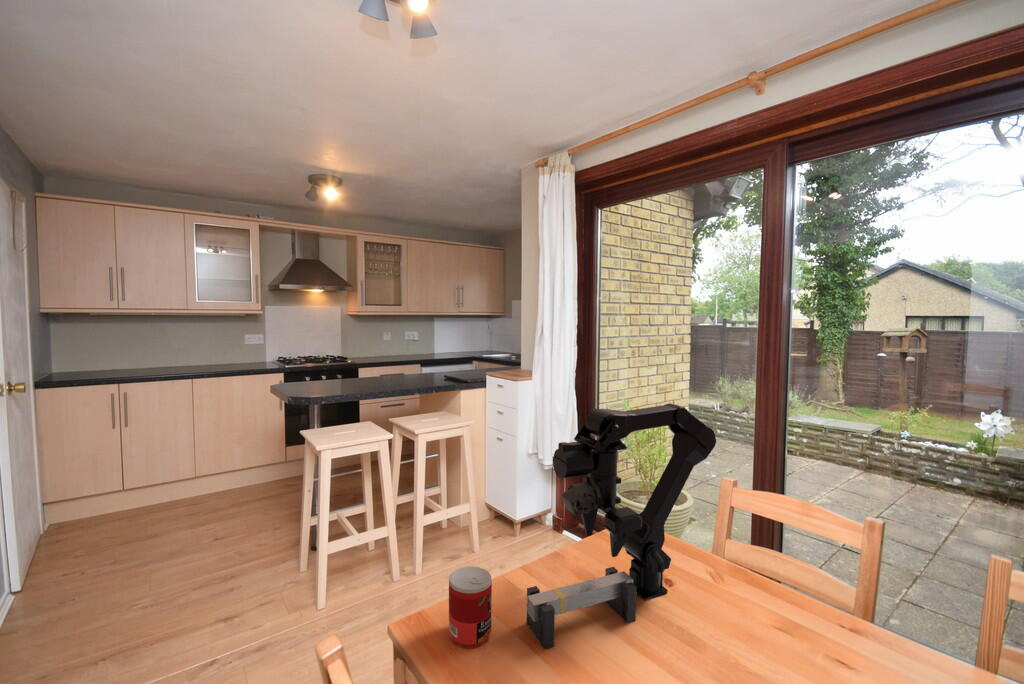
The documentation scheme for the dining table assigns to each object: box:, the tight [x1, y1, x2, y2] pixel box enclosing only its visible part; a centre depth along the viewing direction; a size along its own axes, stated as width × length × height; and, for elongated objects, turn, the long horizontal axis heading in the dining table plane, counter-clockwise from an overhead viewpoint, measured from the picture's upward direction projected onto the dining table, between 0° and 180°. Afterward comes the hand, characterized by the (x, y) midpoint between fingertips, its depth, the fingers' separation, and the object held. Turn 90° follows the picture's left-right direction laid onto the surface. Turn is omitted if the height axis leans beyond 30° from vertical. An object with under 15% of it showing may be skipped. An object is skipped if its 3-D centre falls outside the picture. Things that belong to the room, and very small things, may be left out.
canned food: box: [448, 566, 493, 649], centre depth 84 cm, size 8×8×11 cm
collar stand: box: [526, 566, 637, 650], centre depth 88 cm, size 20×8×7 cm, turn 113°
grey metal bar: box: [526, 570, 633, 621], centre depth 88 cm, size 22×3×3 cm, turn 113°
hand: (601, 545), depth 94 cm, fingers open, 9 cm apart
